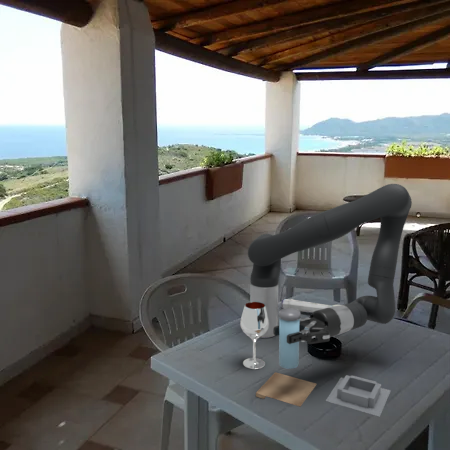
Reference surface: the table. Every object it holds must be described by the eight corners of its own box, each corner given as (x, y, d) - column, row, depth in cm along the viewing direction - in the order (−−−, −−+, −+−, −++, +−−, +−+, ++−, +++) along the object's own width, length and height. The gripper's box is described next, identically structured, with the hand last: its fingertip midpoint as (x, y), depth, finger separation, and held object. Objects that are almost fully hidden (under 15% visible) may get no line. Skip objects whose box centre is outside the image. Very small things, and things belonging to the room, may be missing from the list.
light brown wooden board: (255, 396, 119) (255, 392, 119) (275, 375, 129) (275, 372, 129) (300, 410, 113) (300, 406, 113) (316, 387, 123) (316, 383, 123)
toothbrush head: (286, 296, 180) (348, 301, 165) (287, 313, 181) (350, 319, 166) (279, 300, 176) (343, 306, 161) (281, 317, 177) (344, 324, 162)
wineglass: (271, 359, 138) (272, 302, 135) (264, 372, 131) (265, 312, 127) (244, 355, 141) (245, 298, 137) (236, 368, 133) (236, 308, 130)
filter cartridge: (274, 365, 118) (275, 313, 116) (283, 357, 123) (283, 306, 120) (294, 370, 116) (295, 317, 113) (302, 361, 120) (303, 310, 118)
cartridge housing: (325, 404, 115) (326, 391, 115) (340, 380, 127) (341, 368, 126) (379, 420, 109) (380, 406, 108) (390, 394, 120) (391, 381, 119)
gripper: (314, 300, 130) (264, 312, 122) (352, 317, 118) (299, 331, 110) (314, 325, 132) (264, 339, 123) (351, 344, 119) (298, 361, 111)
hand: (281, 335), depth 117 cm, fingers closed on filter cartridge, 5 cm apart
